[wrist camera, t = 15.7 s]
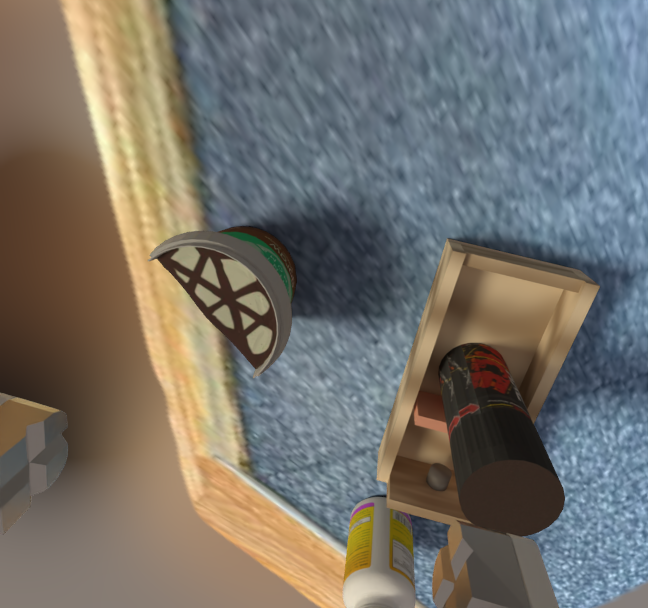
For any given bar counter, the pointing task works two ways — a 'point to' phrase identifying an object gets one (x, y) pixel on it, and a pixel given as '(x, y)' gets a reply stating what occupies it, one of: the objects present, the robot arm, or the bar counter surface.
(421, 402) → the plate
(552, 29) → the bar counter surface
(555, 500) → the deodorant
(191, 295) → the food container
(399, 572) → the supplement bottle
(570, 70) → the bar counter surface
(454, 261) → the tray
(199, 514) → the bar counter surface
